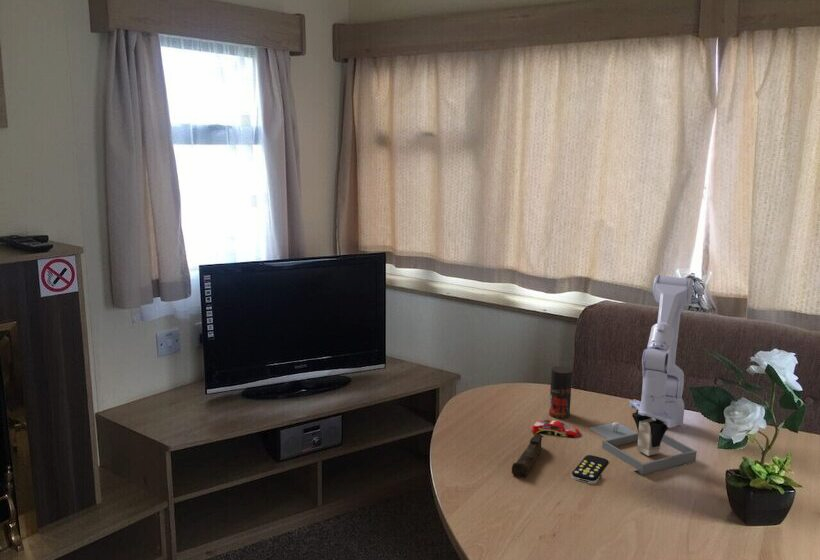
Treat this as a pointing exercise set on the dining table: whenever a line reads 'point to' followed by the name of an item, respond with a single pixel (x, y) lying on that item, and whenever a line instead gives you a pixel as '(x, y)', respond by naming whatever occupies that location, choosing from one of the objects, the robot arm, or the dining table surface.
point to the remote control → (590, 469)
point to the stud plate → (612, 430)
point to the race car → (554, 428)
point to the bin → (653, 466)
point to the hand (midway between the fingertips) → (649, 442)
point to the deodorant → (560, 392)
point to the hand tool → (527, 457)
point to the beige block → (646, 439)
